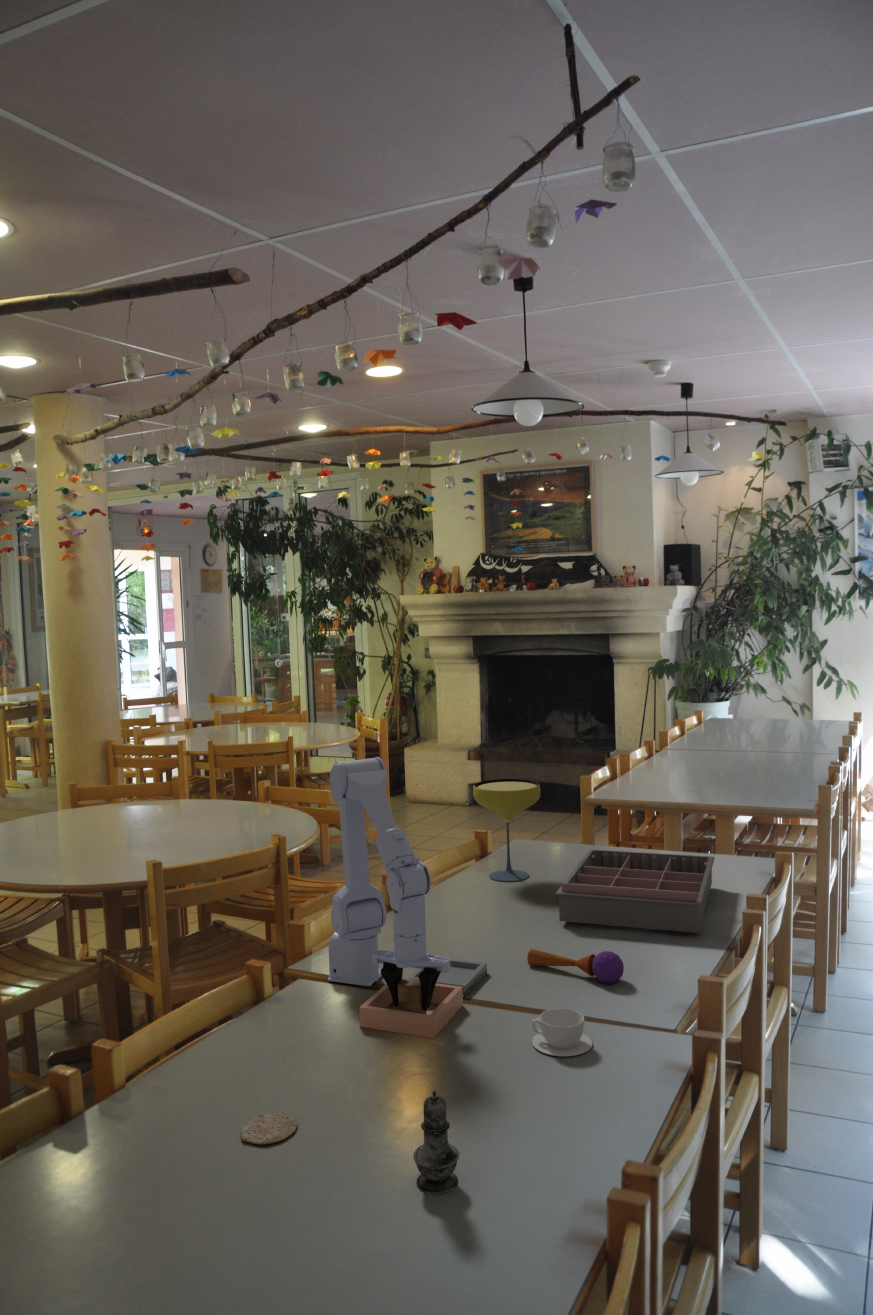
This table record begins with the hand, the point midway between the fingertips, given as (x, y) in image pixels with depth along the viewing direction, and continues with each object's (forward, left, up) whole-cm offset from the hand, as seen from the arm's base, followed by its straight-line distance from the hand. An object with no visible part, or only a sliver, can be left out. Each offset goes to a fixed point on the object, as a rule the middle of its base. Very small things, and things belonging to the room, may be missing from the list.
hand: (412, 1006), depth 169 cm
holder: (0, 0, -2) cm, 2 cm away
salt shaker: (+23, -44, -2) cm, 50 cm away
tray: (0, +17, -2) cm, 17 cm away
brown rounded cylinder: (0, 0, -2) cm, 2 cm away
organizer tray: (+27, +74, -2) cm, 79 cm away
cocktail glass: (-11, +89, -2) cm, 90 cm away
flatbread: (-4, -41, -2) cm, 41 cm away
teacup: (+28, -2, -2) cm, 28 cm away
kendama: (+23, +28, -2) cm, 36 cm away
